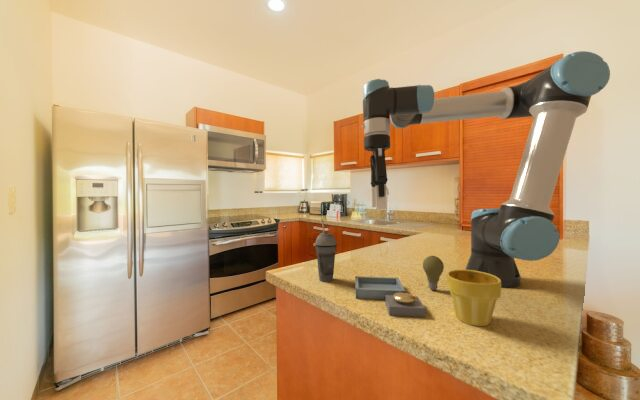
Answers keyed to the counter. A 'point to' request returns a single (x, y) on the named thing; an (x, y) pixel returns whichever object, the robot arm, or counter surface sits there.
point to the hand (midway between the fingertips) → (378, 208)
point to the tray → (377, 287)
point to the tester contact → (404, 297)
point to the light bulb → (433, 270)
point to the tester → (404, 307)
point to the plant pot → (473, 295)
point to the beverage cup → (325, 255)
